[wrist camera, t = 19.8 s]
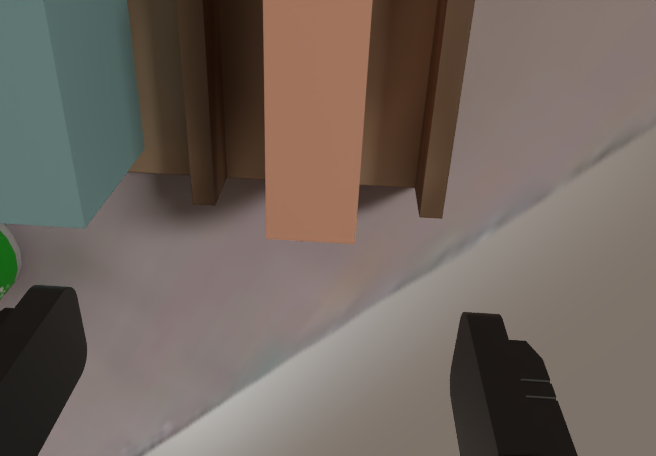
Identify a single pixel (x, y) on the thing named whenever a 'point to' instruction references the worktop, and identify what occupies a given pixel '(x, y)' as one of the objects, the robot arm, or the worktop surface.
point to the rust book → (314, 116)
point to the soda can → (8, 259)
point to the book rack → (248, 92)
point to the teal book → (65, 109)
